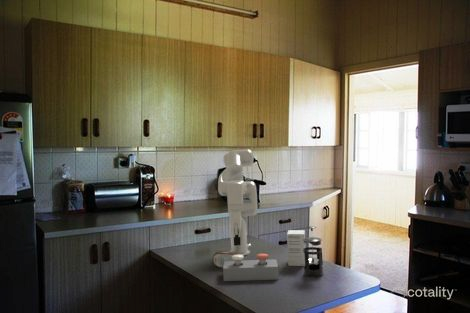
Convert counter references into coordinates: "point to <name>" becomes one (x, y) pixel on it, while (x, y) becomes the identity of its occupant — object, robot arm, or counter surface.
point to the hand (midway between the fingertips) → (237, 245)
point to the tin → (222, 258)
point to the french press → (313, 269)
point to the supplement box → (296, 247)
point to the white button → (237, 259)
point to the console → (250, 270)
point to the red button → (262, 258)
